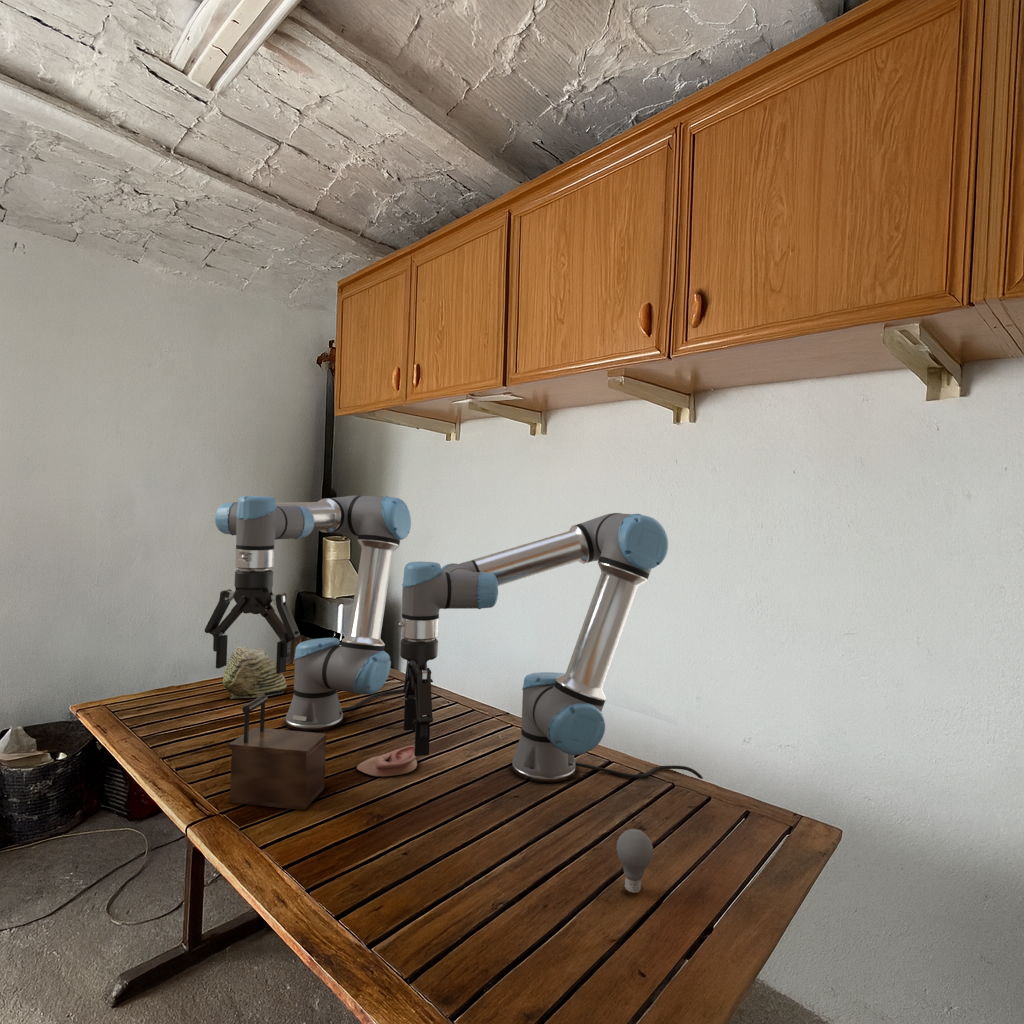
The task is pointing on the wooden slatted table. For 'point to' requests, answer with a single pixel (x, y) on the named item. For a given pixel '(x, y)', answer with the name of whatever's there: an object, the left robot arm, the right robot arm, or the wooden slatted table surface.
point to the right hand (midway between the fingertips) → (415, 741)
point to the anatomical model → (390, 763)
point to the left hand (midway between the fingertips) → (250, 669)
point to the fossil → (252, 674)
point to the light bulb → (634, 857)
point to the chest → (277, 778)
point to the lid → (274, 736)
